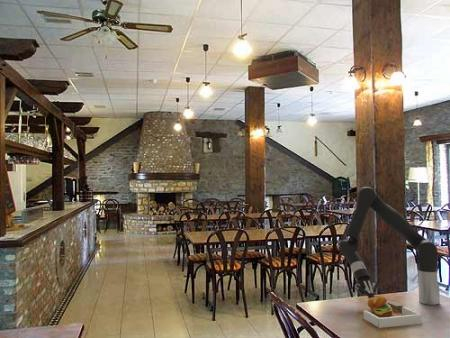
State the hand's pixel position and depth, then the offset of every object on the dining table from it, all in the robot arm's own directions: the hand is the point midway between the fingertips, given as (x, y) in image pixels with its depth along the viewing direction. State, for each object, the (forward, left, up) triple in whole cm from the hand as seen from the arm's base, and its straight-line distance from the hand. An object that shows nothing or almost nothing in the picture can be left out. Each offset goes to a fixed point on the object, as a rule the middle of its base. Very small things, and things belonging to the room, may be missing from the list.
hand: (373, 301), depth 197 cm
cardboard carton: (-12, +1, -5) cm, 13 cm away
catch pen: (0, +15, -5) cm, 16 cm away
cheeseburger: (0, +5, -5) cm, 7 cm away
